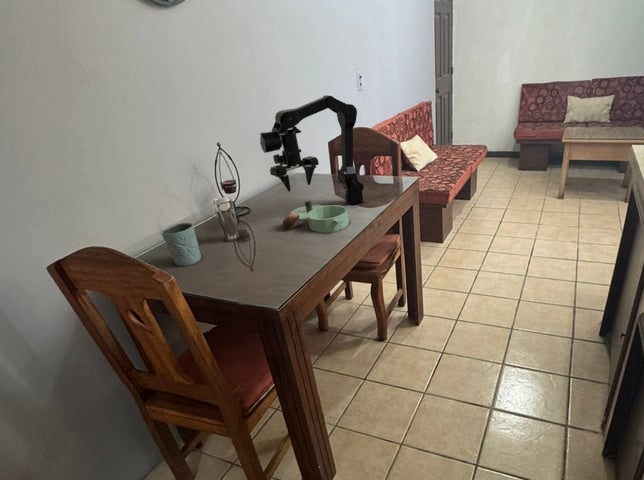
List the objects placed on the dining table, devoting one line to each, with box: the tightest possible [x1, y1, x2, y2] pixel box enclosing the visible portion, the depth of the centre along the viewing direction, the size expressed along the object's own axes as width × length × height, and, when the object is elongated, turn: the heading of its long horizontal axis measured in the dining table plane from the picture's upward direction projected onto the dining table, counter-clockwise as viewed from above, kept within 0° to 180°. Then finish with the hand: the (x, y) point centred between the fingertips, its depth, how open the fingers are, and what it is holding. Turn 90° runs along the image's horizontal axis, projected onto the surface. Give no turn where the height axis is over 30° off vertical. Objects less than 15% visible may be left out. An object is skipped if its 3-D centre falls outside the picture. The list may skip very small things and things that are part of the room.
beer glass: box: [212, 196, 242, 243], centre depth 156 cm, size 7×7×15 cm
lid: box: [289, 199, 325, 221], centre depth 173 cm, size 16×16×6 cm
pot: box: [307, 204, 350, 234], centre depth 161 cm, size 15×21×5 cm
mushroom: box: [282, 213, 302, 231], centre depth 161 cm, size 8×8×6 cm
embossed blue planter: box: [160, 222, 202, 267], centre depth 143 cm, size 10×10×12 cm
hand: (299, 188), depth 165 cm, fingers open, 9 cm apart
